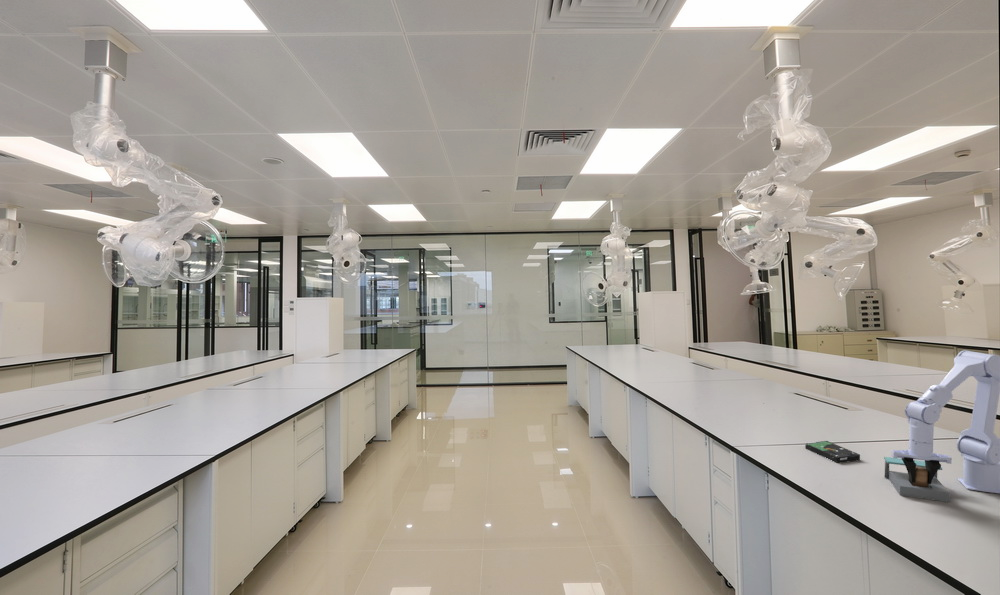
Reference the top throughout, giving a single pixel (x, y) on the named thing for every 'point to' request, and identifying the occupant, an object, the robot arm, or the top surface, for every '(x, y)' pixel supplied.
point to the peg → (921, 477)
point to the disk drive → (832, 451)
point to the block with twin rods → (900, 462)
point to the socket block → (907, 488)
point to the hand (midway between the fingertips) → (920, 481)
